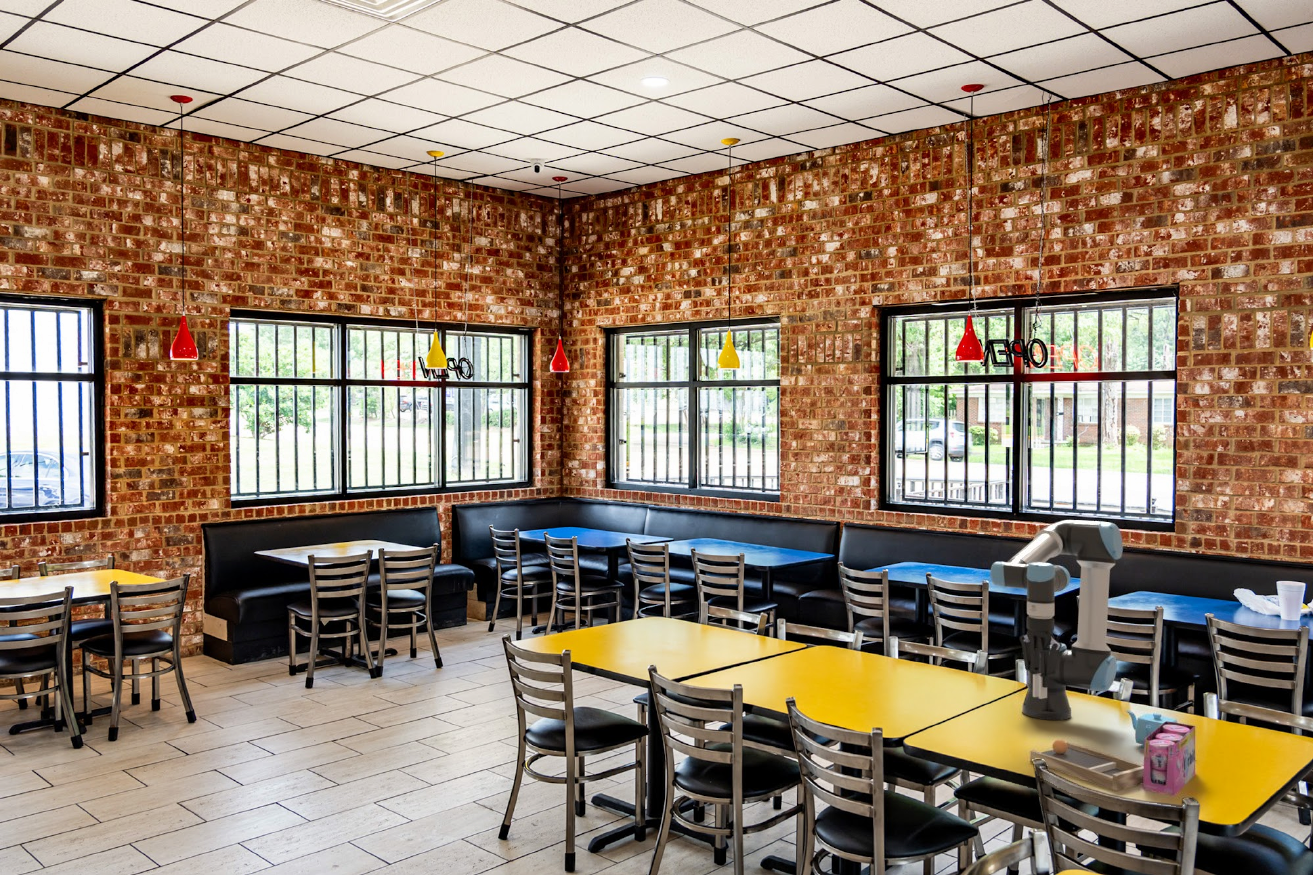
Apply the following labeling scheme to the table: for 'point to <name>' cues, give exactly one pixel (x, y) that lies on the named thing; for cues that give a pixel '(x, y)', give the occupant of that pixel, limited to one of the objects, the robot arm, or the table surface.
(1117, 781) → the lane rails
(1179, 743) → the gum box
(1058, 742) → the ball
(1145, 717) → the teapot
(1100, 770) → the mat
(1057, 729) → the table surface
